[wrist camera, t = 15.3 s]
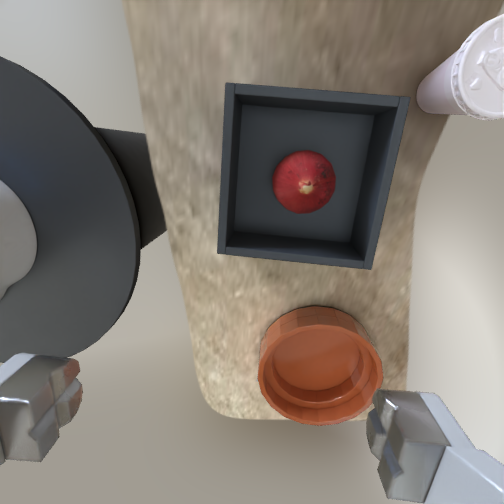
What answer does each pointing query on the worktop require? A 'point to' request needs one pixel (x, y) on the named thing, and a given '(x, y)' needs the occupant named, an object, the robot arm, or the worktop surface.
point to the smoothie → (469, 77)
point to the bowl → (318, 366)
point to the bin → (314, 139)
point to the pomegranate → (304, 181)
